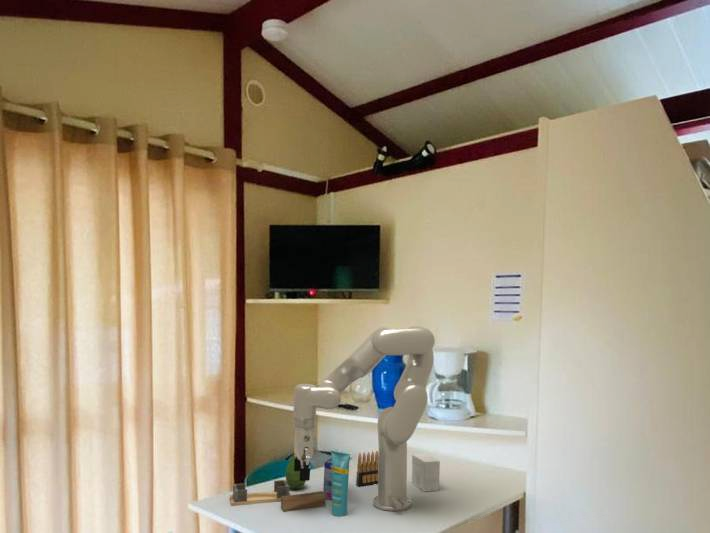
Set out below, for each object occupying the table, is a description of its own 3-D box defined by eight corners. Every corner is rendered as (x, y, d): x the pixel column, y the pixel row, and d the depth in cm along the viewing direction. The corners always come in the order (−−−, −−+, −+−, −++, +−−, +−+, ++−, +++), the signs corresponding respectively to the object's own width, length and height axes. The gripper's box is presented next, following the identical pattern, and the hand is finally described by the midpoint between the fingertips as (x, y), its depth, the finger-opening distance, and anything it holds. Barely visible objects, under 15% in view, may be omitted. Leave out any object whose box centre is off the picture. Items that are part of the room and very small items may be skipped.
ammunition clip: (381, 481, 202) (381, 449, 203) (384, 483, 201) (384, 450, 201) (355, 485, 198) (356, 452, 198) (358, 487, 196) (358, 453, 197)
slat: (325, 507, 178) (325, 494, 178) (283, 512, 172) (283, 500, 173) (322, 503, 181) (322, 491, 181) (280, 508, 176) (281, 496, 176)
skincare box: (440, 490, 194) (440, 460, 195) (424, 492, 192) (424, 462, 192) (426, 481, 204) (426, 452, 204) (411, 482, 202) (411, 454, 202)
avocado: (311, 488, 194) (312, 454, 194) (293, 493, 189) (294, 458, 189) (298, 482, 200) (299, 449, 200) (280, 487, 194) (281, 453, 195)
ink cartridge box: (337, 501, 182) (338, 457, 183) (322, 498, 184) (323, 455, 185) (348, 491, 192) (348, 449, 193) (333, 489, 194) (334, 447, 194)
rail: (291, 500, 183) (292, 486, 183) (231, 505, 177) (231, 491, 177) (288, 492, 189) (288, 479, 190) (229, 498, 183) (230, 484, 184)
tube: (325, 513, 172) (326, 451, 173) (333, 508, 176) (334, 448, 177) (346, 518, 168) (347, 455, 169) (353, 513, 172) (354, 451, 173)
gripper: (321, 428, 171) (318, 484, 170) (309, 416, 187) (307, 466, 186) (298, 429, 169) (295, 485, 168) (288, 416, 185) (285, 467, 184)
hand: (301, 475), depth 177 cm, fingers open, 9 cm apart
